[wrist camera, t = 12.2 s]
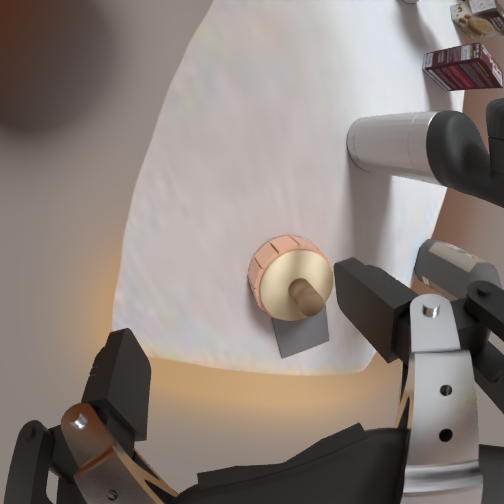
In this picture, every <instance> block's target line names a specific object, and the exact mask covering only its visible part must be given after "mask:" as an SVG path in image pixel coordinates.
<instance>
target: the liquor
mask: <svg viewBox="0 0 504 504" xmlns="http://www.w3.org/2000/svg"><path fill="white" fill-rule="evenodd" d="M414 269H415V272H416V274H417V277H418V279H419V280H420V281H422V282H423V283H425V284H426V285H428V286H429V287H431V288H432V289H434V290H435V291H437V292H438V293H440V294H441V295H443V296H444V297H445V298H447V299H449V300H450V301H454V300H457V299H461V298H464V297H465V295H466V290H467V286H468V285H469V284H470V283H471V282H474V281H478V280H484V281H488V282H491V283H493V284H495V285H496V286H498V287H499V288H501V289H502V287H501V283H500V279H499V275H498V272H497V269H496V268H495V267H494V265H492V264H490V263H488V262H486V261H484V260H482V259H480V258H478V257H476V256H474V255H472V254H470V253H468V252H466V251H464V250H462V249H460V248H458V247H456V246H454V245H452V244H449V243H447V242H445V241H443V240H433V239H428V240H426V241H425V242H424V243H423V245H422V246H421V247H420V249H419V253H418V257H417V261H416V264H415V268H414Z"/></svg>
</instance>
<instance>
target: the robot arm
mask: <svg viewBox="0 0 504 504" xmlns="http://www.w3.org/2000/svg"><path fill="white" fill-rule="evenodd" d="M486 122H487V131H488V136H489V138H488V141H489V152H490V156H489V154H488V152H487V150H486V147H485V145H484V143H483V140H482V138H481V136H480V133H479V131H478V129H477V127H476V126H475V124H474V123H473V121H472V120H471V119H470V118H469V117H468V116H466V115H465V114H463V113H461V112H458V111H429V112H414V113H401V114H391V115H381V116H372V117H364V118H361V119H358V120H357V121H355V122H354V123H353V125H352V126H351V128H350V130H349V133H348V137H347V146H348V151H349V154H350V156H351V158H352V160H353V161H354V163H355V164H356V165H357V166H358V167H360V168H361V169H363V170H366V171H371V172H377V173H382V174H388V175H393V176H399V177H404V178H409V179H414V180H419V181H423V182H428V183H433V184H437V185H441V186H445V187H449V188H453V189H455V190H457V191H459V192H462V193H465V194H468V195H472V196H475V197H478V198H480V199H483V200H486V201H488V202H491V203H493V204H496V205H498V206H500V207H503V208H504V98H500V99H496V100H493V101H491V102H490V103H489V104H488V105H487V107H486ZM334 276H335V285H336V295H337V301H338V305H339V307H340V309H341V311H342V312H343V313H344V315H345V316H346V317H347V318H348V319H349V320H350V321H351V322H352V323H353V325H354V326H355V327H356V328H357V329H358V330H359V331H360V332H361V333H362V335H363V336H364V337H365V338H366V339H367V340H368V341H369V342H370V343H371V345H372V346H373V347H374V348H375V349H376V350H377V351H378V352H379V354H380V355H381V356H382V357H383V358H384V359H385V360H386V362H387V363H391V362H392V361H394V360H396V359H398V358H400V360H401V361H402V366H401V380H400V391H399V401H398V410H397V416H396V420H395V424H394V428H377V429H371V430H366V431H364V429H363V428H362V426H361V424H360V423H357V424H355V425H353V426H351V427H349V428H347V429H345V430H342V431H340V432H338V433H335V434H333V435H331V436H328V437H326V438H323V439H321V440H320V441H318V442H317V443H315V444H314V445H312V446H311V447H309V448H307V449H306V450H304V451H303V452H301V453H299V454H298V455H296V456H295V457H293V458H291V459H289V460H288V461H286V462H284V463H280V464H272V465H271V464H270V465H252V466H234V467H229V468H225V469H220V470H215V471H209V472H202V473H198V474H197V476H198V484H196V485H194V486H192V487H190V488H188V489H186V490H185V491H183V492H181V493H180V494H179V493H177V492H176V491H175V490H174V489H172V488H171V487H170V486H169V485H168V484H167V483H166V482H165V481H164V480H163V479H162V478H161V477H160V476H159V475H158V474H157V473H156V472H155V471H154V470H153V468H151V466H150V465H149V464H148V463H147V462H146V461H145V459H144V458H143V457H142V456H141V455H140V453H139V452H138V451H137V450H136V449H135V448H134V442H135V441H144V440H146V438H147V418H148V403H149V390H150V380H151V366H150V363H149V360H148V358H147V356H146V355H145V353H144V351H143V350H142V348H141V346H140V345H139V343H138V341H137V339H136V338H135V336H134V334H133V333H132V331H131V330H130V329H129V328H125V329H121V330H117V331H114V332H111V333H110V334H109V336H108V339H107V342H106V345H105V347H103V348H102V349H101V351H100V352H99V353H98V354H97V356H96V357H95V360H94V363H93V368H92V369H91V372H90V376H89V378H88V381H87V384H86V387H85V390H84V394H83V397H82V401H81V403H78V404H75V405H73V406H71V407H70V408H69V409H68V410H67V411H66V412H65V413H64V415H63V416H62V419H61V424H60V425H58V426H55V427H53V428H50V429H47V428H46V427H45V426H44V425H42V423H41V422H39V421H37V420H32V421H30V422H28V423H26V424H25V425H24V426H23V428H22V429H21V430H20V432H19V435H18V438H17V442H16V445H15V449H14V453H13V457H12V461H11V465H10V470H9V474H8V480H7V485H6V491H5V498H4V504H53V503H52V502H51V501H50V500H49V499H48V497H47V495H46V486H47V478H48V471H51V472H52V473H54V474H55V475H57V476H58V477H59V480H58V490H57V502H56V504H504V447H500V446H491V445H483V444H479V430H478V429H479V428H478V410H477V398H476V389H475V382H476V383H477V384H478V385H479V386H480V387H481V389H483V391H484V392H485V393H486V394H487V395H488V396H489V398H490V399H491V400H492V401H493V402H494V403H495V404H496V406H497V407H498V408H499V409H500V410H501V411H502V413H503V414H504V355H503V354H502V353H501V352H500V351H499V350H498V349H497V348H496V347H495V346H493V345H492V344H491V343H490V342H489V341H488V338H489V335H490V333H491V331H492V332H493V333H494V334H496V335H497V336H498V337H499V338H500V339H501V340H502V341H504V290H502V289H501V288H499V287H498V286H496V285H495V284H493V283H491V282H488V281H484V280H478V281H474V282H471V283H470V284H469V285H468V286H467V290H466V295H465V297H464V298H461V299H457V300H454V301H450V302H449V301H448V300H447V299H445V298H444V297H442V296H440V295H436V294H424V295H420V296H419V295H418V294H416V293H415V292H414V291H412V290H411V289H409V288H408V287H407V286H405V285H404V284H402V283H401V282H400V281H398V280H396V279H395V278H394V277H392V276H391V275H389V274H388V273H387V272H385V271H384V270H382V269H381V268H378V267H375V266H371V265H366V266H365V265H364V264H363V263H361V262H360V261H358V260H357V259H355V258H354V257H351V258H348V259H346V260H343V261H340V262H337V263H335V264H334Z"/></svg>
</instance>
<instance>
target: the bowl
mask: <svg viewBox="0 0 504 504" xmlns="http://www.w3.org/2000/svg"><path fill="white" fill-rule="evenodd" d="M293 249H308V250H312V251H314V252H316V253H318V254H319V255H321V256H322V257H323V258H324V259H325V260H326V261H327V262H328V263H329V265H330V267H331V263H330V261H329V260H328V258H327V257H326V256H325V255H324V254H323V253H322V252H321V251H320V249H318V248H317V247H316V246H315V245H313V244H312V243H311V242H309V241H308V240H306V239H304V238H301V237H298V236H293V235H285V236H279V237H276V238H273V239H271V240H269V241H268V242H266V243H265V244H263V245H262V246H261V247H260V248H259V249H258V250H257V251H256V253H255V254H254V256H253V258H252V260H251V262H250V265H249V271H248V279H249V283H250V286H251V289H252V292H253V295H254V297H255V299H256V301H257V304H258V306H259V307H260V308H261V309H262V310H263V311H265V312H266V313H267V314H268V315H270V316H271V317H272V318H273V317H274V316H272V315H271V314H270V313H269V312H268V311H267V310H266V308H265V307H264V305H263V303H262V301H261V298H260V294H259V284H260V280H261V277H262V274H263V272H264V270H265V269H266V267H267V266H268V265H269V264H270V262H271V261H272V260H274V259H275V258H276V257H277V256H279V255H281V254H282V253H284V252H287V251H289V250H293ZM331 269H332V267H331ZM274 318H275V319H278V318H276V317H274Z"/></svg>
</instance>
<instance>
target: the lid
mask: <svg viewBox="0 0 504 504" xmlns="http://www.w3.org/2000/svg"><path fill="white" fill-rule="evenodd" d="M332 287H333V273H332V269H331V267H330V265H329V263H328V262H327V261H326V260H325V259H324V258H323V257H322V256H321V255H319V254H318V253H316V252H314V251H312V250H308V249H293V250H289V251H287V252H284V253H282V254H281V255H279V256H277V257H276V258H275V259H274V260H272V261H271V262H270V264H269V265H268V266H267V267H266V269H265V270H264V272H263V274H262V277H261V280H260V284H259V294H260V298H261V301H262V303H263V305H264V307H265V308H266V310H267V311H268V312H269V313H270V314H271V315H272V316H274V317H276V318H278V319H281V320H285V321H296V320H300V319H304V318H306V317H308V316H309V317H310V316H314V315H316V314H318V313H319V312H320V311H321V310H322V308H323V306H324V303H325V302H326V301H327V299H328V297H329V295H330V293H331V290H332Z"/></svg>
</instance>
